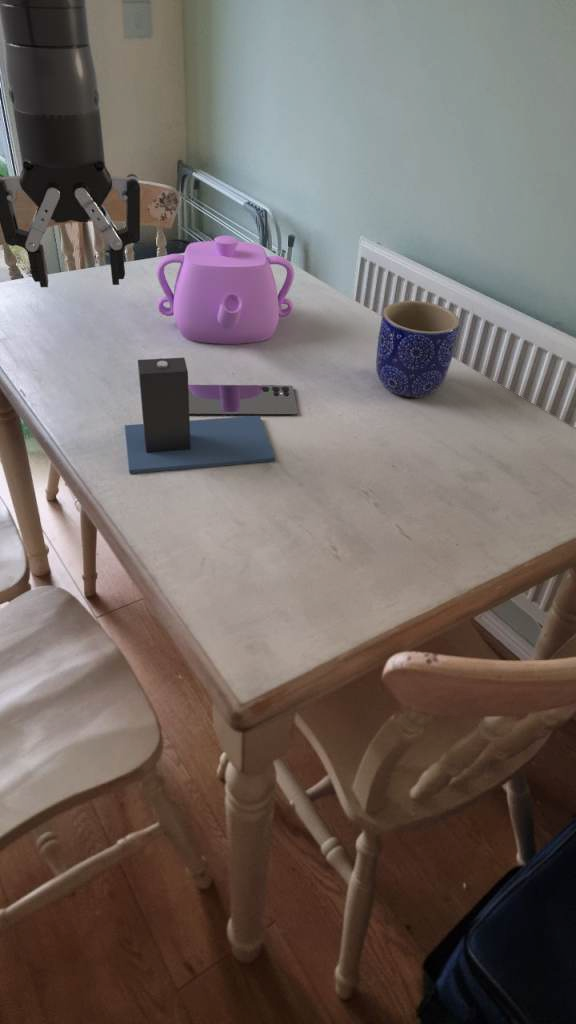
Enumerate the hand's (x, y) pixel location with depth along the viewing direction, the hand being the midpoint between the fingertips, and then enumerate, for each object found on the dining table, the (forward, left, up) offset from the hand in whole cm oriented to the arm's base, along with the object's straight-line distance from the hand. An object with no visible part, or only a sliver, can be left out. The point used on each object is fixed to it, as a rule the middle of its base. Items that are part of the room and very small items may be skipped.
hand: (80, 283), depth 73 cm
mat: (+12, 0, -22) cm, 25 cm away
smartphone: (+19, +10, -22) cm, 31 cm away
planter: (+45, +11, -22) cm, 51 cm away
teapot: (+21, +33, -22) cm, 45 cm away
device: (+8, 0, -21) cm, 23 cm away
